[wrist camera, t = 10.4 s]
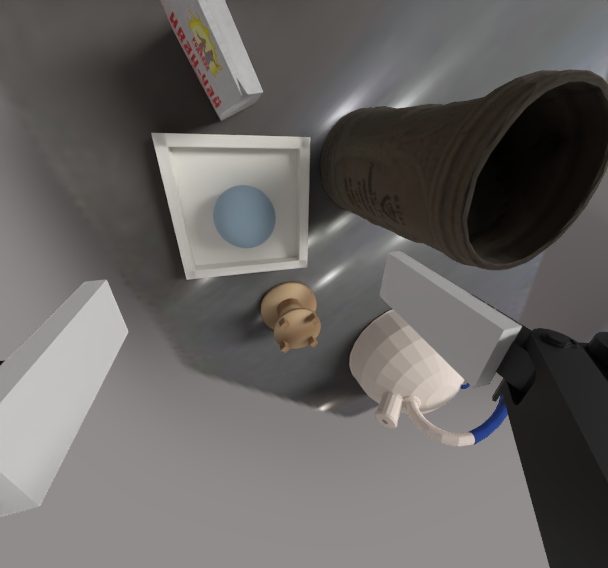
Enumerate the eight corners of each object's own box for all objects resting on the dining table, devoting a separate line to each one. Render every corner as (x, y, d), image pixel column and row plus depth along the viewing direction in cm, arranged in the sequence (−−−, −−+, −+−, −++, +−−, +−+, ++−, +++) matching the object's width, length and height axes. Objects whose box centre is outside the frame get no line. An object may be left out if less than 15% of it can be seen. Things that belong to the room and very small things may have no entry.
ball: (210, 182, 25) (205, 191, 20) (269, 181, 27) (279, 189, 21) (219, 239, 28) (217, 259, 23) (272, 235, 29) (281, 254, 24)
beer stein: (345, 231, 33) (490, 311, 16) (295, 161, 27) (439, 166, 10) (435, 149, 32) (692, 140, 15) (403, 58, 26) (761, -127, 9)
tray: (157, 133, 23) (151, 132, 21) (304, 137, 26) (310, 137, 24) (188, 271, 30) (186, 279, 28) (302, 260, 33) (307, 267, 31)
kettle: (342, 322, 41) (412, 429, 25) (451, 287, 44) (572, 364, 29) (350, 397, 51) (402, 503, 36) (437, 364, 54) (520, 450, 39)
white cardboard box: (212, 7, 20) (204, -91, 12) (254, 103, 24) (271, 80, 15) (172, 29, 20) (134, -55, 12) (220, 121, 24) (219, 108, 15)
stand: (248, 311, 35) (253, 343, 29) (287, 270, 33) (300, 296, 28) (288, 336, 39) (299, 368, 33) (325, 300, 37) (342, 328, 32)
